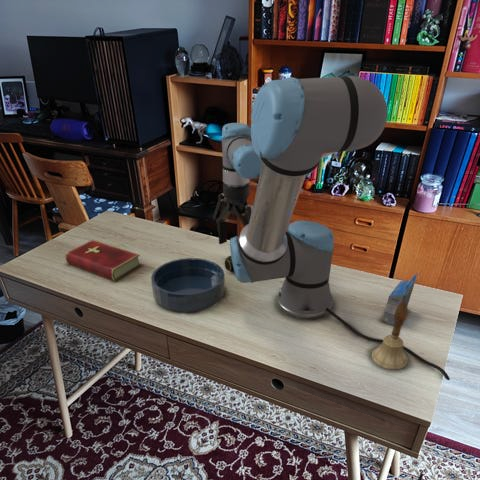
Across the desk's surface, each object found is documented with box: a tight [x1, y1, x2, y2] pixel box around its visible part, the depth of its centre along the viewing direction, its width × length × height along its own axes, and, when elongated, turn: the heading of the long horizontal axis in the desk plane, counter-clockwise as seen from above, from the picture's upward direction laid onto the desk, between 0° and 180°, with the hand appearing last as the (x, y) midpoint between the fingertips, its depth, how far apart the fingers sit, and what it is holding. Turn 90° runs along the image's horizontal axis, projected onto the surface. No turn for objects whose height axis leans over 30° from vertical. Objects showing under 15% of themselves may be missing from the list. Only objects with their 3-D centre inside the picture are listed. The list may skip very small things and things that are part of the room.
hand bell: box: [371, 301, 409, 371], centre depth 100 cm, size 8×8×16 cm
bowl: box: [150, 257, 226, 313], centre depth 127 cm, size 21×21×6 cm
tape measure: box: [224, 255, 235, 273], centre depth 139 cm, size 7×7×4 cm
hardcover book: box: [64, 239, 142, 282], centre depth 142 cm, size 12×21×4 cm, turn 58°
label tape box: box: [382, 271, 418, 326], centre depth 116 cm, size 9×4×12 cm, turn 145°
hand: (236, 250), depth 137 cm, fingers open, 13 cm apart
